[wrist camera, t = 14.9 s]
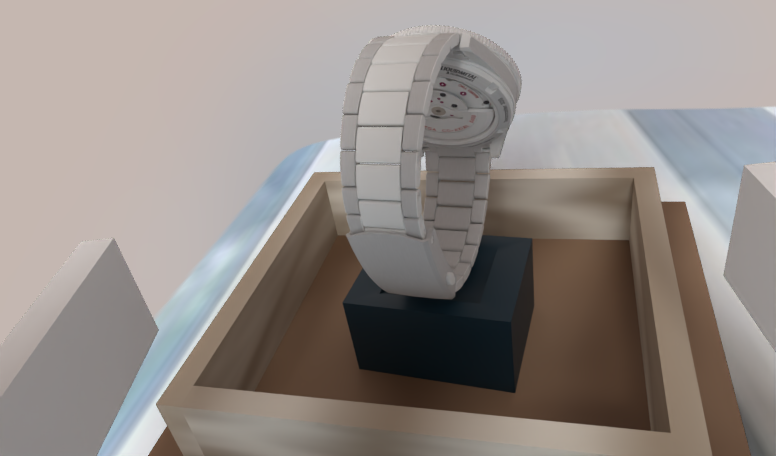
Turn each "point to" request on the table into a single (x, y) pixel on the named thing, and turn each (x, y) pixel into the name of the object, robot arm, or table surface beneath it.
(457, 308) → the watch
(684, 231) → the board
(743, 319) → the table surface
